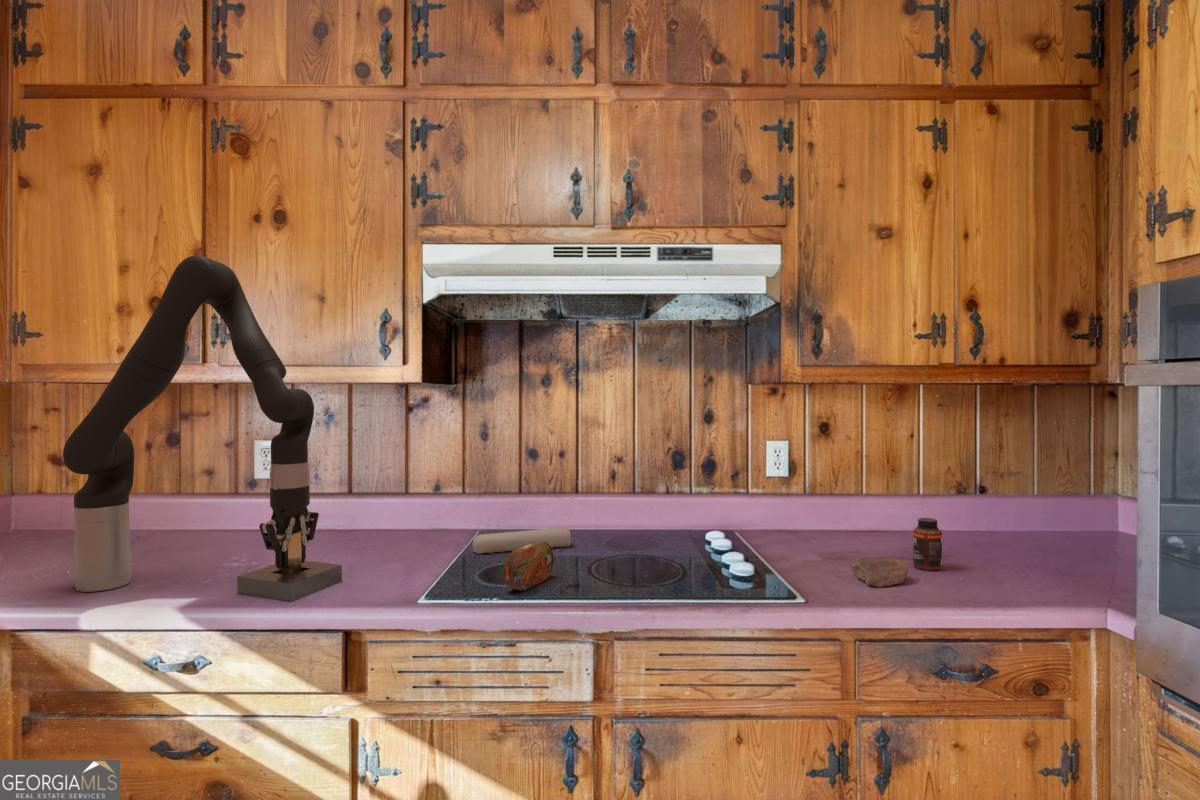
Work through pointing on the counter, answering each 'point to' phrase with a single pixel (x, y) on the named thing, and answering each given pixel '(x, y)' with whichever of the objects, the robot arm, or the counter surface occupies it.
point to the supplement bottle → (927, 545)
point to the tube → (521, 540)
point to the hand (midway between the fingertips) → (290, 565)
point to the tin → (528, 565)
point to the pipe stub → (293, 554)
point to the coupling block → (289, 581)
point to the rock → (880, 571)
